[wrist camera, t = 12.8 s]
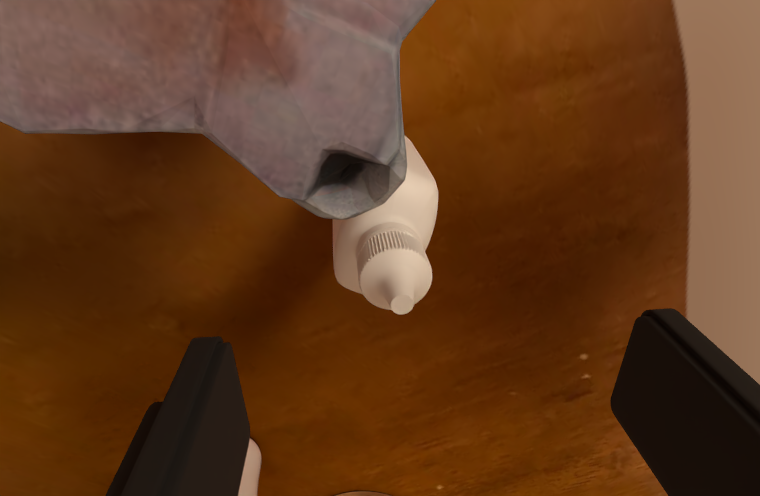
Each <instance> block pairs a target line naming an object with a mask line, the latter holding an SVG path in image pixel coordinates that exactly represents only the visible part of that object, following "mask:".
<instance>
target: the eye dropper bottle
mask: <svg viewBox="0 0 760 496" xmlns="http://www.w3.org/2000/svg"><path fill="white" fill-rule="evenodd" d="M404 136H405V135H404ZM405 145H406V154H407V171H406V177H405V181H404V182H403V183H402V184H401V185H400V186H399V188H398V189H397V190H396V191H395V192H394V193H393V194H392V195H391V197H390V198H389V199H388V200H387V201H386V202H385V203H384V204H382V205H380V206H378V207H376V208H374V209H372V210H369V211H367V212H365V213H363V214H361V215H359V216H357V217H354V218H350V219H347V220H336V219H333V262H334V273H335V277H336V279H337V281H338V283H339V284H341V285H342V286H343V287H345V288H347V289H349V290H352V291H354V292H357V293H360V294H363V295H364V297H366V299H367V300H368V301H369V302H371V304H374V306H377V307H380V308H384V309H388V310H392V311H393V312H394V313H396V314H406V313H408V312H410V311H411V310H412V309H413V306H414V304H415V303H417V302H418V301H420V300H421V299H422V298H423V297H424V296H425V294H426V293H427V291H428V289H429V288H430V285H431V282H432V278H433V277H432V269H431V265H430V263H429V260H428V258H427V255H426V253H425V250H426V248H427V246H428V244H429V242H430V239H431V236H432V233H433V229H434V226H435V221H436V216H437V209H438V188H437V185H436V182H435V180H434V178H433V176H432V174H431V172H430V171H429V169H428V167H427V166H426V164H425V163H424V161H423V159H422V158H421V156H420V155H419V153H418V152H417V150H416V148H415V147H414V145H413V144H412V142H411V141H410V140H409V139H408V138H407V137H406V136H405Z"/></svg>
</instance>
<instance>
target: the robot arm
mask: <svg viewBox="0 0 760 496" xmlns="http://www.w3.org/2000/svg"><path fill="white" fill-rule="evenodd" d="M611 409H612V411H613V414H614V415H615V417H616V418H617V420H618V421H619V423H620V424H621V426H622V427H623V429H624V430H625V432H626V433H627V435H628V436H629V438H630V439H631V441H632V442H633V444H634V445H635V447H636V448H637V450H638V451H639V453H640V454H641V456H642V457H643V459H644V460H645V462H646V463H647V464H648V466H649V467H650V469H651V470H652V472H653V473H654V475H655V476H656V478H657V479H658V481H659V482H660V484H661V485H662V487H663V488H664V490H665V491H666V493H667V494H668V496H760V385H759V384H758V383H757V382H756V381H755V380H754V379H753V378H751V377H750V376H749V375H748V374H747V373H746V372H745V371H743V369H741V368H740V367H739V366H738V365H737V364H736V363H735V362H734V361H733V360H731V359H730V358H729V357H728V356H727V355H726V354H725V353H723V352H722V351H721V350H720V349H719V348H718V347H717V346H716V345H715V344H714V343H712V342H711V341H710V340H709V339H708V338H707V337H706V336H704V335H703V334H702V333H701V332H700V331H699V330H698V329H697V328H696V327H695V326H694V325H692V324H691V323H690V322H689V321H688V320H687V319H686V318H685V317H684V316H682V315H681V314H680V313H679V312H678V311H676V310H675V309H655V310H646V311H644V312H643V313H642V315H641V317H638V318H637V319H636V321H635V323H634V326H633V330H632V333H631V336H630V339H629V342H628V345H627V349H626V352H625V355H624V358H623V361H622V364H621V368H620V371H619V374H618V377H617V380H616V383H615V387H614V390H613V393H612V396H611ZM249 440H250V426H249V421H248V416H247V412H246V407H245V403H244V398H243V394H242V390H241V385H240V381H239V376H238V372H237V367H236V363H235V358H234V354H233V350H232V346H231V344H230V343H229V342H227V343H223V340H222V338H221V337H219V336H217V337H201V338H193V339H192V340H191V342H190V344H189V346H188V348H187V351H186V353H185V355H184V357H183V359H182V362H181V364H180V366H179V368H178V370H177V373H176V375H175V377H174V379H173V381H172V384H171V386H170V388H169V390H168V392H167V395H166V397H165V399H164V401H163V402H154V403H153V404H152V405H150V407H149V408H148V410H147V411H146V413H145V415H144V417H143V419H142V422H141V424H140V426H139V428H138V430H137V432H136V434H135V436H134V438H133V440H132V442H131V444H130V446H129V448H128V450H127V452H126V455H125V457H124V459H123V461H122V463H121V465H120V467H119V469H118V471H117V473H116V475H115V477H114V479H113V481H112V483H111V485H110V488H109V490H108V492H107V494H106V496H238V493H239V488H240V483H241V478H242V474H243V469H244V464H245V460H246V455H247V450H248V446H249Z"/></svg>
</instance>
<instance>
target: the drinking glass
mask: <svg viewBox="0 0 760 496" xmlns="http://www.w3.org/2000/svg"><path fill="white" fill-rule="evenodd" d="M260 468H261V452H260V449H259V447H258V446H257V444H256V443H255V442H254V441H253V440H252V439H251V438H250V440H249V446H248V450H247V455H246V460H245V464H244V469H243V474H242V478H241V483H240V488H239V493H238V496H257V493H258V481H259V475H260Z"/></svg>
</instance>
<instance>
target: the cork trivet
mask: <svg viewBox="0 0 760 496" xmlns="http://www.w3.org/2000/svg"><path fill="white" fill-rule="evenodd" d="M335 496H390V495H387V494H384V493H379V492H371V491H356V492H348V493H342V494H338V495H335Z"/></svg>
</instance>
